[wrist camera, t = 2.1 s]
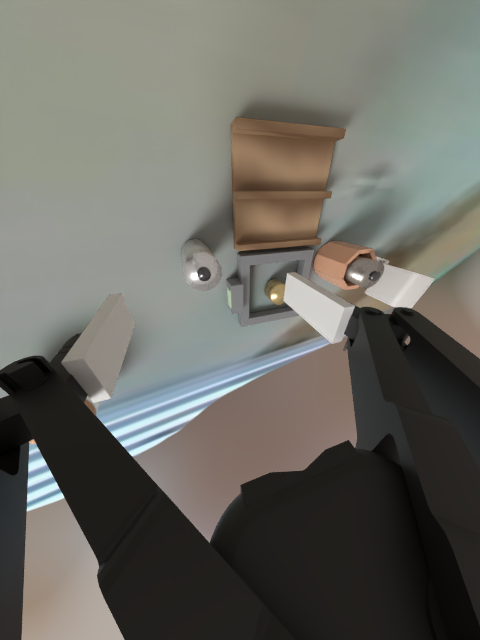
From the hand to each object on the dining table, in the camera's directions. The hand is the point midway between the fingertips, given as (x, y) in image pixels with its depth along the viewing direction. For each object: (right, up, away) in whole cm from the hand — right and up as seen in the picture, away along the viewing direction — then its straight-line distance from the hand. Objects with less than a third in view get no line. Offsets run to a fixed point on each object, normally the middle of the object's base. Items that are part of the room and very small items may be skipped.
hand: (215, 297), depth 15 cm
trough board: (+8, +16, +11) cm, 21 cm away
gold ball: (+8, +4, +19) cm, 21 cm away
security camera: (+30, +9, +24) cm, 39 cm away
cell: (-5, +8, +12) cm, 15 cm away
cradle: (+7, +4, +18) cm, 20 cm away
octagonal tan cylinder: (+19, +10, +19) cm, 29 cm away
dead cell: (+19, +9, +19) cm, 28 cm away
